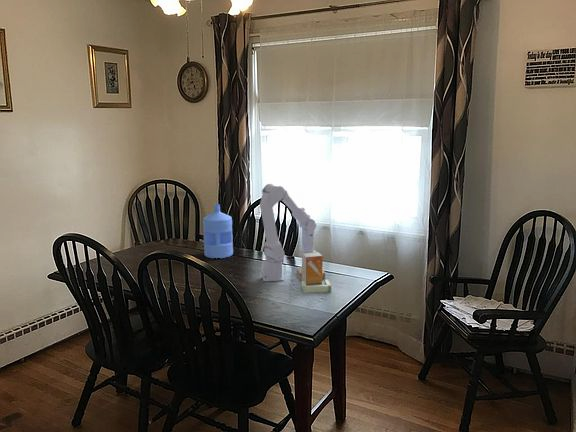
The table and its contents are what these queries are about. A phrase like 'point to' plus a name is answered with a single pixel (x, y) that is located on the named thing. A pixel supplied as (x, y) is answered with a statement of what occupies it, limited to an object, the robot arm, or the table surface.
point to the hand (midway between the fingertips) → (307, 269)
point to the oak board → (299, 273)
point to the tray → (316, 287)
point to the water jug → (218, 234)
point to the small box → (312, 267)
